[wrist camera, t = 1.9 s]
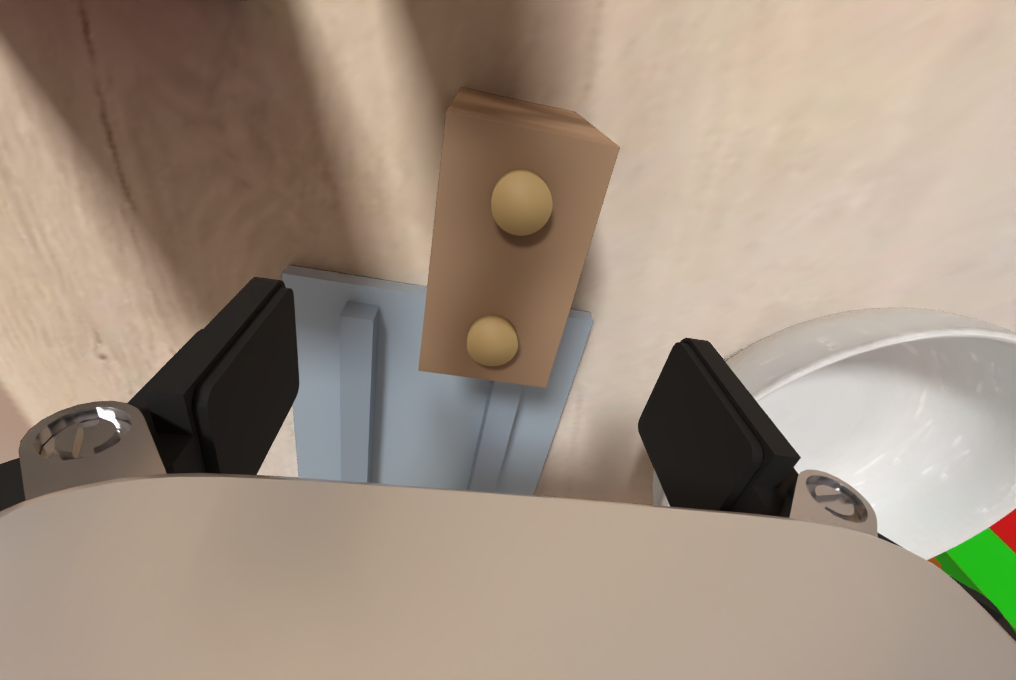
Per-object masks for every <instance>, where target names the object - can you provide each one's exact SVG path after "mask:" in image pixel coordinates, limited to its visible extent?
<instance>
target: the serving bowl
mask: <svg viewBox="0 0 1016 680" xmlns="http://www.w3.org/2000/svg"><path fill="white" fill-rule="evenodd" d="M725 362H726V363H727V365H728V366H729V367H730V368H731V370H732V371H733V372H734V373H735V375H736V376H737V377H738V379H739V380H740V381H741V382H742V384H743V385H744V386H745V387H746V389H747V390H748V391H749V392H750V394H751V395H752V396H753V397H754V399H755V400H756V401H757V403H758V404H759V405H760V406H761V408H762V409H763V410H764V411H765V413H766V414H767V415H768V416H769V418H770V419H771V420H772V421H773V423H774V424H775V425H776V427H777V428H778V429H779V430H780V432H781V433H782V434H783V435H784V437H785V438H786V439H787V440H788V442H789V443H790V444H791V446H792V447H793V448H794V449H795V451H796V452H797V453H798V454H799V456H800V457H801V458H800V460H799V461H798V462H797V464H796V465H795V466H794V469H795V470H796V471H797V473H798V474H800V472H802V471H805V470H819V471H822V472H826V473H829V474H831V475H833V476H835V477H838V478H839V479H841V480H843V481H844V482H846V483H847V484H849V485H850V486H852V487H853V488H854V489H855V490H857V491H858V492H859V493H860V494H861V495H862V496H863V497H864V498H865V499H866V500H867V501H868V502H869V503H870V505H871V507H872V508H873V510H874V511H875V514H876V518H877V532H878V533H880V534H881V535H883V536H885V537H886V538H888V539H890V540H891V541H893V542H895V543H896V544H898V545H900V546H901V547H903V548H905V549H906V550H908V551H910V552H912V553H914V554H916V555H918V556H920V557H922V558H923V559H925V560H929V559H931V558H933V557H935V556H937V555H939V554H941V553H943V552H945V551H947V550H949V549H951V548H953V547H956V546H958V545H959V544H961V543H963V542H965V541H967V540H968V539H970V538H972V537H974V536H975V535H977V534H979V533H980V532H982V531H984V530H985V529H987V528H989V527H990V526H992V525H993V524H994V523H996V522H997V521H999V520H1000V519H1002V518H1003V517H1005V516H1006V515H1007V514H1009V513H1010V512H1012V511H1013V510H1014V509H1015V508H1016V333H1015V332H1012V331H1010V330H1007V329H1004V328H1002V327H999V326H996V325H994V324H991V323H988V322H984V321H981V320H978V319H974V318H970V317H966V316H962V315H958V314H954V313H948V312H943V311H936V310H928V309H917V308H872V309H864V310H855V311H848V312H842V313H837V314H832V315H828V316H824V317H820V318H816V319H813V320H809V321H806V322H803V323H800V324H797V325H794V326H791V327H788V328H786V329H784V330H781V331H779V332H777V333H774V334H772V335H770V336H768V337H766V338H763V339H761V340H760V341H758V342H756V343H754V344H752V345H750V346H749V347H747V348H745V349H744V350H742V351H740V352H739V353H737V354H736V355H734V356H732V357H731V358H729V359H728V360H727V361H725ZM652 492H653V505H658V506H670V505H669V503H668V500H667V498H666V496H665V493H664V491H663V489H662V486H661V484H660V481H659V479H658V477H657V474H656V472H655V470H654V471H653V484H652Z"/></svg>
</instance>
